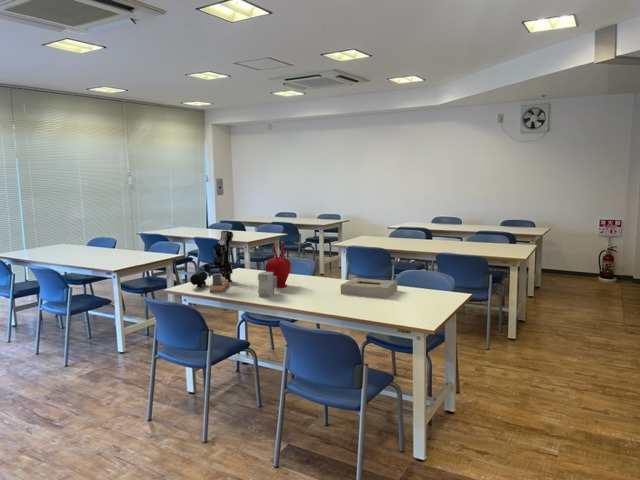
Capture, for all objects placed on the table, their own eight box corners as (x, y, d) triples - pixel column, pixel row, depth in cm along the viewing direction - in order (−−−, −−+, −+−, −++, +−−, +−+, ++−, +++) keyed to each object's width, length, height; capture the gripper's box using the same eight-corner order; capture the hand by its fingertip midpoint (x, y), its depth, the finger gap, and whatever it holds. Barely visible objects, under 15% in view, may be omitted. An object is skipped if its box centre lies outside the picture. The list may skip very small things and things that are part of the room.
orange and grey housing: (216, 285, 334) (216, 276, 333) (228, 285, 334) (228, 275, 333) (209, 292, 313) (209, 282, 312) (222, 292, 313) (222, 282, 312)
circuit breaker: (278, 292, 311) (277, 270, 309) (268, 297, 297) (268, 274, 295) (267, 291, 313) (267, 269, 311) (258, 296, 300) (257, 273, 298)
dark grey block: (214, 287, 320) (214, 273, 319) (222, 287, 320) (221, 273, 319) (213, 289, 315) (212, 275, 314) (220, 289, 315) (219, 275, 314)
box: (340, 295, 302) (387, 299, 289) (340, 283, 302) (387, 287, 288) (352, 288, 323) (397, 291, 310) (352, 277, 323) (397, 280, 309)
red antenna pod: (277, 282, 340) (276, 242, 336) (293, 283, 336) (292, 242, 332) (264, 289, 321) (263, 246, 317) (281, 290, 316) (280, 246, 313)
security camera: (208, 283, 341) (208, 270, 340) (200, 289, 323) (199, 275, 322) (199, 283, 342) (199, 270, 341) (190, 289, 324) (189, 275, 322)
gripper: (203, 252, 318) (200, 271, 309) (230, 251, 318) (228, 270, 309) (207, 261, 327) (203, 280, 318) (233, 261, 327) (231, 279, 317)
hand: (216, 277), depth 315 cm, fingers open, 9 cm apart
